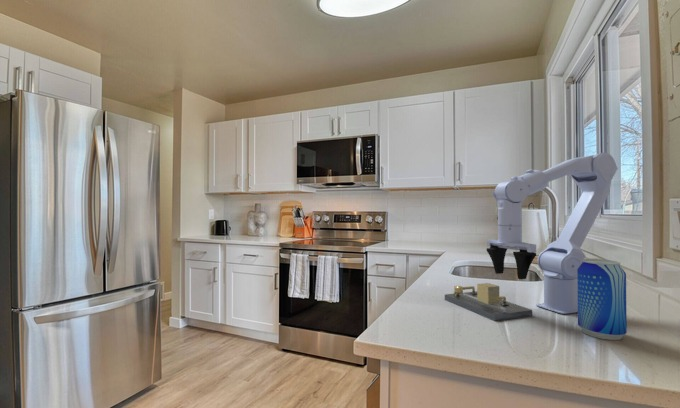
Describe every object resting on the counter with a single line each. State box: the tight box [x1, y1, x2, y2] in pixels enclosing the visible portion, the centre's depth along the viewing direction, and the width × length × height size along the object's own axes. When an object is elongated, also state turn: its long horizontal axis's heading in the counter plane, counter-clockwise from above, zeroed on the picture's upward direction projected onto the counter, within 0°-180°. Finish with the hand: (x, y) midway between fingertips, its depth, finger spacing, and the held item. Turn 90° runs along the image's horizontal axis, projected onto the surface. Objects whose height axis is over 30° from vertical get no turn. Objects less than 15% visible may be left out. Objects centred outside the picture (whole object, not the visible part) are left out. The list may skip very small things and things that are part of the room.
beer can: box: [577, 258, 628, 341], centre depth 73 cm, size 8×8×16 cm
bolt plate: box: [444, 285, 533, 322], centre depth 92 cm, size 12×20×4 cm, turn 18°
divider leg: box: [476, 282, 507, 304], centre depth 88 cm, size 8×4×5 cm, turn 108°
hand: (510, 276), depth 89 cm, fingers open, 7 cm apart
